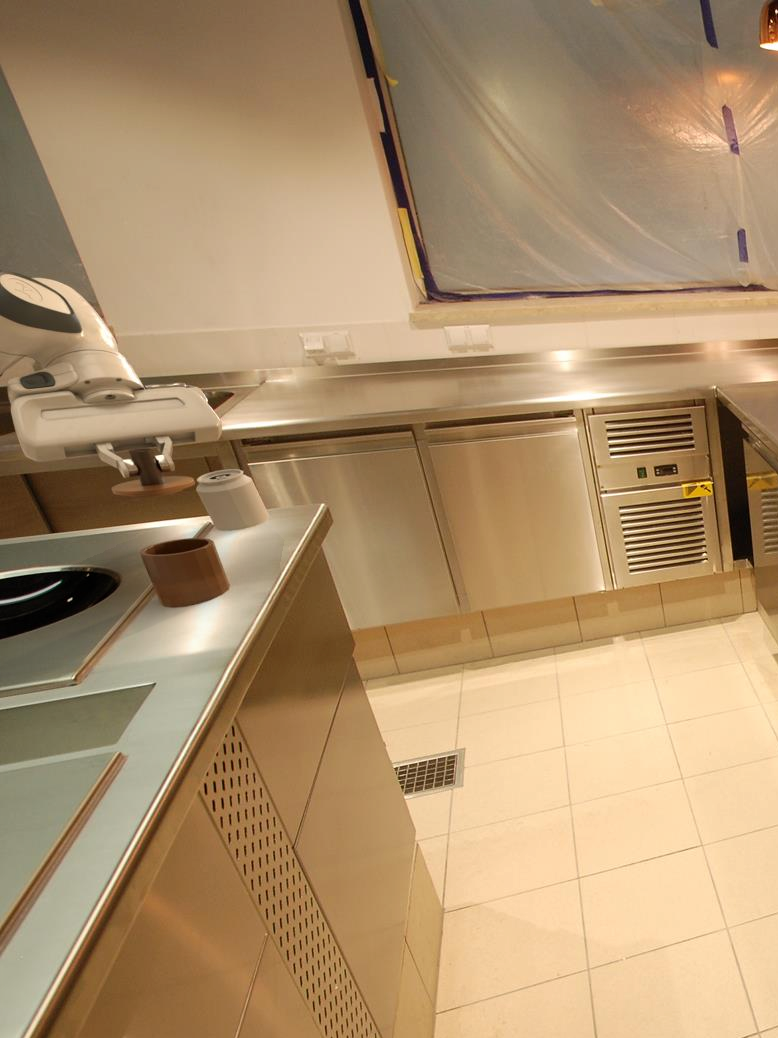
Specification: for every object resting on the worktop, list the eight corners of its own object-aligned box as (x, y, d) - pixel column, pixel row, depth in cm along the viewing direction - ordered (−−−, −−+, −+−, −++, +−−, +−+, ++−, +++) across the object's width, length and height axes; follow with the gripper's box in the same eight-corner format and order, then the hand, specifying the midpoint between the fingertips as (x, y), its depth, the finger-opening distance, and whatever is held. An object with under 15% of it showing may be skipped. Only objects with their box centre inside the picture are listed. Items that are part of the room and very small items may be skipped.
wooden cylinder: (173, 617, 116) (149, 559, 113) (155, 604, 120) (132, 547, 117) (241, 600, 122) (221, 545, 119) (222, 588, 126) (202, 534, 123)
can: (273, 527, 150) (242, 463, 143) (282, 540, 145) (250, 474, 139) (221, 540, 145) (187, 474, 139) (229, 553, 141) (194, 486, 134)
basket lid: (125, 503, 109) (107, 460, 106) (107, 493, 113) (89, 451, 111) (205, 490, 115) (190, 449, 112) (185, 481, 119) (170, 441, 117)
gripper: (196, 396, 123) (243, 471, 122) (-2, 414, 108) (49, 500, 107) (195, 367, 119) (244, 445, 118) (-12, 381, 104) (42, 471, 103)
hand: (149, 472), depth 112 cm, fingers closed on basket lid, 2 cm apart
